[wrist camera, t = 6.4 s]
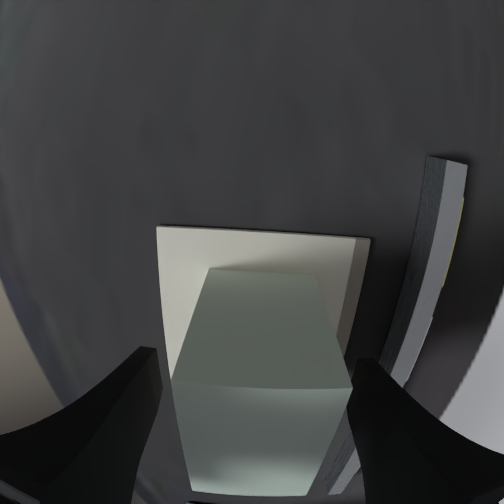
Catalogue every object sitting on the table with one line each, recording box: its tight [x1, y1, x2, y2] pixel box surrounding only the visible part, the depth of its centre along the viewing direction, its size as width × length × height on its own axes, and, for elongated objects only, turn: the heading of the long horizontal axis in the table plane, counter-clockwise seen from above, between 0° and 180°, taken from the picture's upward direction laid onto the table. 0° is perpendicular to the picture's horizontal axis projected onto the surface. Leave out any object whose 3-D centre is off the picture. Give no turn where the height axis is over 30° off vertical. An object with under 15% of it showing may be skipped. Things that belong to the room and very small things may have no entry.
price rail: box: [326, 156, 468, 495], centre depth 13 cm, size 22×1×2 cm, turn 177°
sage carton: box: [171, 268, 353, 496], centre depth 10 cm, size 4×6×6 cm
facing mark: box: [157, 225, 371, 378], centre depth 13 cm, size 9×8×1 cm
